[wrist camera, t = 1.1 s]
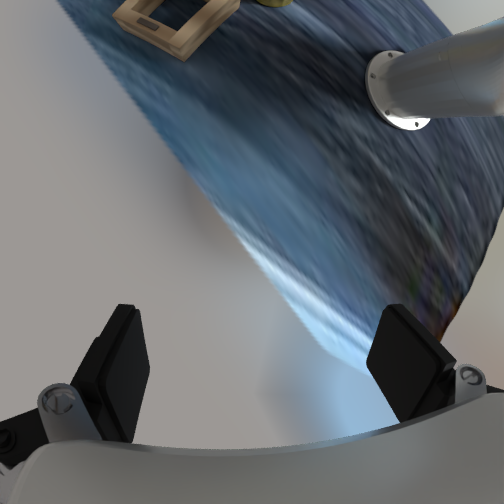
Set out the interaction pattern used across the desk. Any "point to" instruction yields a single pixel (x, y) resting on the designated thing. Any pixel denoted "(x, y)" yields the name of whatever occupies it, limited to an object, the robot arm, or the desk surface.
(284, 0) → the vase
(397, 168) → the desk surface
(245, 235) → the desk surface
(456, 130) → the desk surface
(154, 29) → the wooden box
